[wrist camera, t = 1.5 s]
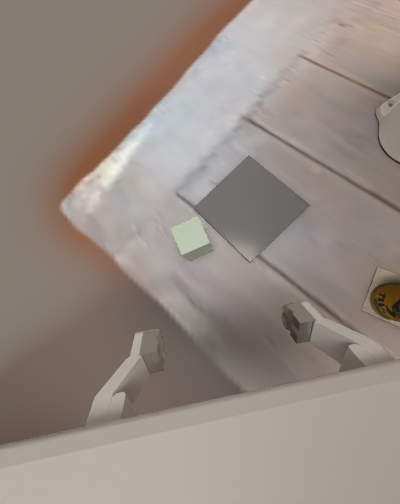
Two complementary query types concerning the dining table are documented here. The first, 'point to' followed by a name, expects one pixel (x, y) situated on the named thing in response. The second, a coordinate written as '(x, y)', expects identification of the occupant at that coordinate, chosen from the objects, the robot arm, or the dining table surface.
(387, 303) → the condiment
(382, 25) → the dining table surface
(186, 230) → the block
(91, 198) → the dining table surface
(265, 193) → the board
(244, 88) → the dining table surface
